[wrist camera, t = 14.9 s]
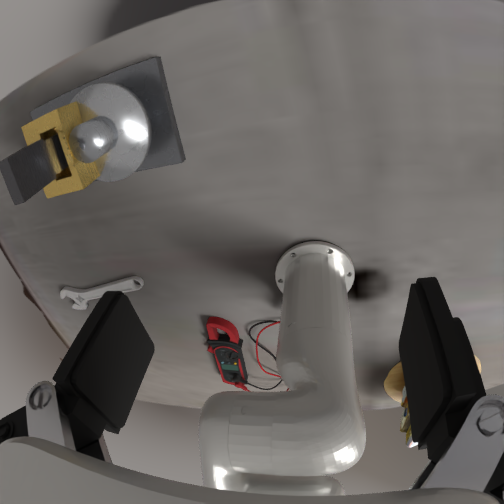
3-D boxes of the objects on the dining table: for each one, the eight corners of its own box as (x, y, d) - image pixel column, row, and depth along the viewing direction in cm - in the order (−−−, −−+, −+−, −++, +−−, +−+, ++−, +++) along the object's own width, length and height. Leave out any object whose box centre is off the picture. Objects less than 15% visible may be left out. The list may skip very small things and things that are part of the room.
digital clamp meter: (217, 395, 71) (194, 329, 57) (221, 380, 75) (200, 311, 61) (316, 401, 67) (324, 335, 53) (316, 386, 71) (324, 316, 57)
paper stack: (369, 399, 72) (372, 457, 58) (409, 339, 57) (422, 411, 44) (447, 397, 70) (456, 449, 56) (494, 342, 55) (515, 401, 42)
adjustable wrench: (140, 272, 57) (136, 278, 55) (155, 297, 60) (152, 303, 59) (60, 286, 64) (56, 291, 62) (74, 306, 67) (71, 311, 66)
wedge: (72, 123, 33) (7, 158, 24) (83, 159, 36) (24, 202, 26) (62, 127, 34) (-2, 163, 24) (73, 162, 37) (14, 205, 27)
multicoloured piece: (160, 56, 34) (115, 62, 25) (185, 159, 42) (153, 193, 33) (35, 109, 39) (-12, 131, 30) (61, 187, 48) (22, 219, 39)
